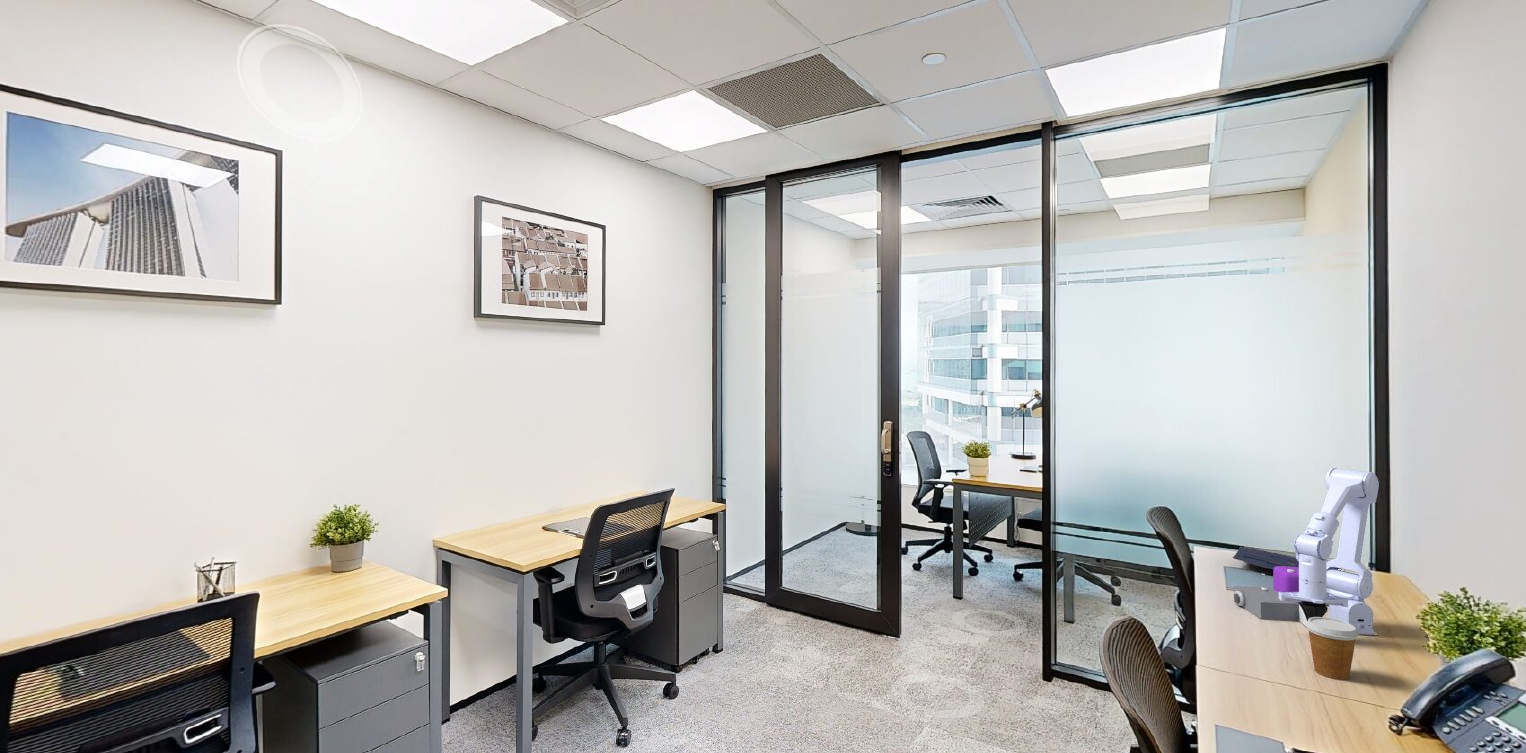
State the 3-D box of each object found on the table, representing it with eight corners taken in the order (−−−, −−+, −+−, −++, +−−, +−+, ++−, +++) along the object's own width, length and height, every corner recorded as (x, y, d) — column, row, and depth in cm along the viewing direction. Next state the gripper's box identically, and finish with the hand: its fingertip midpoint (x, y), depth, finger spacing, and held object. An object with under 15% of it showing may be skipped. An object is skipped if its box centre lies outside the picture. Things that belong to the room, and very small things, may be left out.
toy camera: (1296, 591, 211) (1295, 560, 211) (1328, 606, 197) (1328, 573, 197) (1260, 590, 212) (1260, 560, 212) (1290, 605, 198) (1290, 573, 198)
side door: (1300, 621, 185) (1300, 606, 185) (1303, 622, 185) (1303, 606, 185) (1322, 640, 173) (1322, 624, 172) (1326, 640, 172) (1326, 624, 172)
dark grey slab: (1240, 552, 250) (1241, 542, 250) (1343, 577, 230) (1344, 567, 230) (1230, 566, 233) (1231, 557, 232) (1341, 595, 212) (1343, 585, 212)
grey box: (1303, 622, 185) (1303, 603, 185) (1258, 620, 187) (1258, 601, 187) (1271, 603, 200) (1271, 585, 200) (1229, 601, 202) (1229, 583, 202)
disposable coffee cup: (1305, 661, 162) (1305, 613, 161) (1357, 672, 156) (1357, 622, 155) (1306, 675, 154) (1305, 625, 154) (1360, 687, 148) (1360, 635, 148)
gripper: (1285, 581, 174) (1285, 632, 174) (1353, 587, 168) (1353, 639, 169) (1275, 573, 180) (1275, 622, 180) (1341, 579, 175) (1341, 629, 175)
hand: (1312, 629), depth 175 cm, fingers closed
